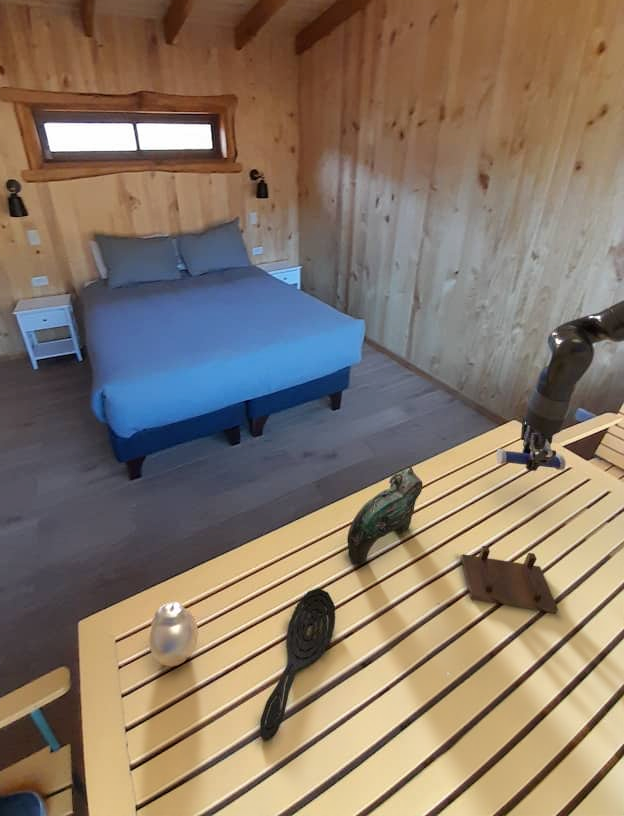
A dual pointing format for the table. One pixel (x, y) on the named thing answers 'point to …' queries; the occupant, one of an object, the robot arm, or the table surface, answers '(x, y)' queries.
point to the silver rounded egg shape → (172, 634)
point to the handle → (522, 458)
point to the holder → (507, 582)
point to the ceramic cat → (384, 514)
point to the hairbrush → (300, 651)
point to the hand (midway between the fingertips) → (528, 464)
